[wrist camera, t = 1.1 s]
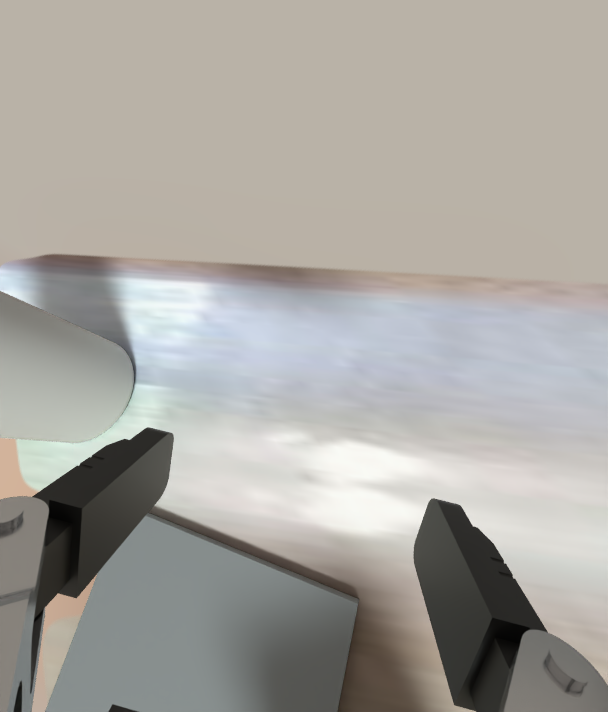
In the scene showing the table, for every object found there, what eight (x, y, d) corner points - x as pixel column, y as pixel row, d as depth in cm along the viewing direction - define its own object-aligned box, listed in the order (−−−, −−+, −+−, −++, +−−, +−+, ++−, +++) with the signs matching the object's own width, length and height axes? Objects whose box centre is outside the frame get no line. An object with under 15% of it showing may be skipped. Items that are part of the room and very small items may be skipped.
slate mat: (359, 599, 26) (358, 604, 25) (276, 1027, 20) (271, 1054, 19) (130, 505, 34) (123, 506, 33) (19, 800, 28) (7, 812, 27)
